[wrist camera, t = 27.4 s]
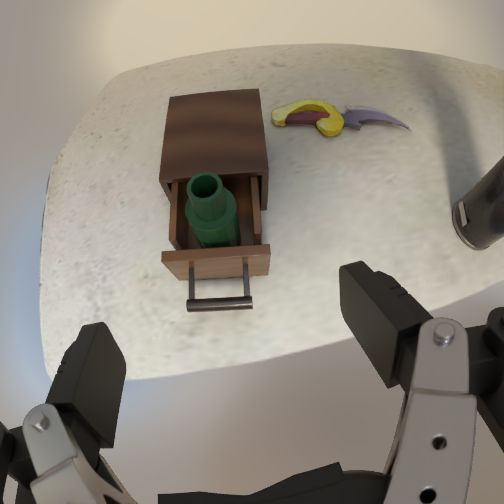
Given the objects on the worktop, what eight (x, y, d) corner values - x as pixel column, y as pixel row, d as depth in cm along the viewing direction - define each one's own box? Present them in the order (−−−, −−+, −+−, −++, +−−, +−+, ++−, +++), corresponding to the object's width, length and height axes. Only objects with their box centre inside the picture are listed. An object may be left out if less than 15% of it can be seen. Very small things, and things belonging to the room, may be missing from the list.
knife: (398, 112, 50) (269, 106, 50) (403, 102, 47) (269, 96, 47) (412, 143, 47) (273, 139, 47) (417, 134, 45) (274, 128, 45)
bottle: (239, 220, 40) (232, 160, 28) (241, 257, 39) (234, 209, 26) (200, 222, 40) (177, 165, 28) (200, 260, 39) (174, 214, 26)
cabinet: (266, 210, 43) (268, 171, 34) (177, 216, 43) (158, 180, 34) (258, 131, 48) (258, 88, 39) (182, 138, 48) (169, 96, 39)
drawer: (271, 313, 37) (274, 302, 30) (179, 318, 37) (160, 308, 30) (260, 182, 44) (260, 149, 36) (181, 189, 43) (167, 157, 36)
